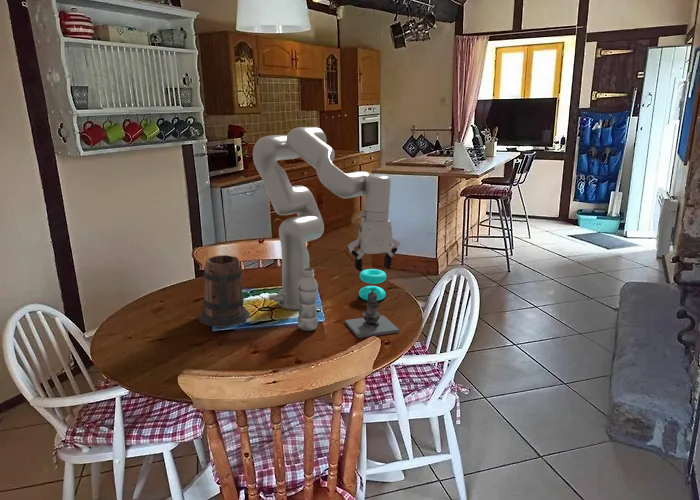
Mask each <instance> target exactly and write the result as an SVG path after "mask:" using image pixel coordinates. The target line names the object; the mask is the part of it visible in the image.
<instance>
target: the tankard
mask: <svg viewBox="0 0 700 500" xmlns="http://www.w3.org/2000/svg"><path fill="white" fill-rule="evenodd" d="M203 279H204V297H203V305H204V306H203V307H204V308H203V309H202V310H201V312H200V314H199V315H198V321H199V323H201V324H202V325H207V326H208V327H209V326H210V327H211V326H212V327H231V326H236V325H238V324H242V323H244V322H246V321H247V320H249V318H250V316H251V314H250V311H248V310H247V307H245V305H244V301H245V300H244V295H243V288H242V287H243V286H242V269H241V266H240V263H239V259H238V256H233V255H227V254H224V255H220V254H219V255H215V256H211V257H208V258H206V259H205V267H204V270H203Z"/></svg>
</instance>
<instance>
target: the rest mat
mask: <svg viewBox="0 0 700 500" xmlns="http://www.w3.org/2000/svg"><path fill="white" fill-rule="evenodd" d="M364 322H365V320H364V317H358V318H352V319H345V320H344V324H345V325H346V326H347V327H348V328H349V329H350V331H351V332H352V333H353V335H355V336H356V337H357V339H360V338H361V339H362V338H369V336H370V337H374V336H375V337H376V336H382V335H389V334H396V333H397V334H399V333H400V329H399V328H398V326H396V325H395V323H392V322H391V320H389V319H388V318H387V317H386V316H385V315H384V314H382V315H381V316H380V318H379V320H378V321H377V322H378V323H379V326H378V327H376V328H368V327H365V326H364V325H363V323H364ZM372 335H374V336H372Z"/></svg>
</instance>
